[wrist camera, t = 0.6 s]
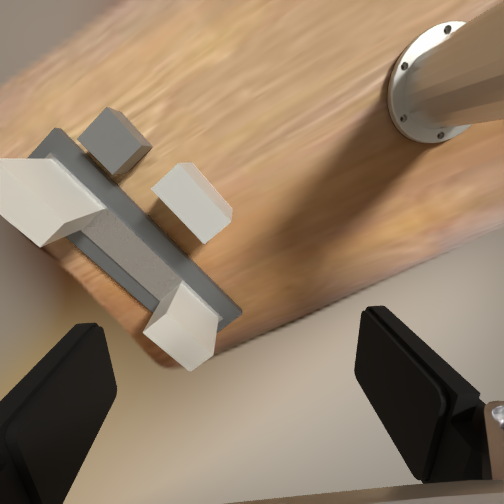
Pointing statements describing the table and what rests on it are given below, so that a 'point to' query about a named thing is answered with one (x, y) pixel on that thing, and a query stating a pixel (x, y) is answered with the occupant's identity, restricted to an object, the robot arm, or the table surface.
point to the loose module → (194, 201)
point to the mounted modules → (78, 217)
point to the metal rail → (130, 249)
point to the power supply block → (114, 141)
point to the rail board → (139, 224)
